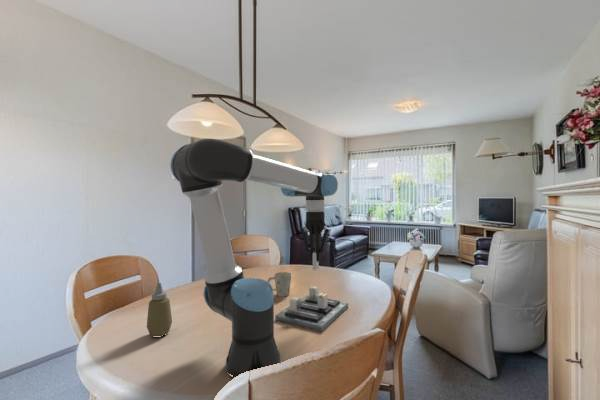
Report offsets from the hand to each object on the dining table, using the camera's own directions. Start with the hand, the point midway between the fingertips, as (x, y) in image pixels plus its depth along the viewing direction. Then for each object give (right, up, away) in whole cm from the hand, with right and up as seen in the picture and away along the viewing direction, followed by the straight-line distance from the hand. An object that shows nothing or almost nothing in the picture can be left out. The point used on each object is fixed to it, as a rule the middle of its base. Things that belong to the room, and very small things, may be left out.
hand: (315, 269), depth 118 cm
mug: (-17, -19, +25) cm, 35 cm away
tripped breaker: (+3, -15, -1) cm, 15 cm away
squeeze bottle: (-56, -19, -16) cm, 61 cm away
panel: (-1, -18, +1) cm, 18 cm away
